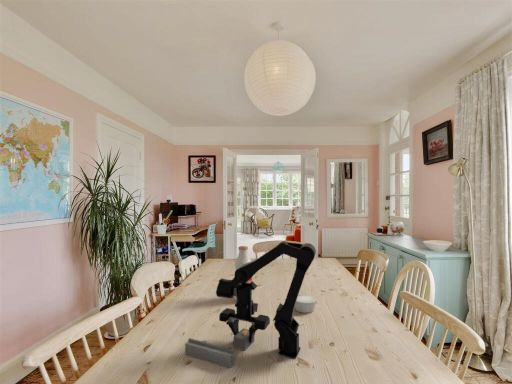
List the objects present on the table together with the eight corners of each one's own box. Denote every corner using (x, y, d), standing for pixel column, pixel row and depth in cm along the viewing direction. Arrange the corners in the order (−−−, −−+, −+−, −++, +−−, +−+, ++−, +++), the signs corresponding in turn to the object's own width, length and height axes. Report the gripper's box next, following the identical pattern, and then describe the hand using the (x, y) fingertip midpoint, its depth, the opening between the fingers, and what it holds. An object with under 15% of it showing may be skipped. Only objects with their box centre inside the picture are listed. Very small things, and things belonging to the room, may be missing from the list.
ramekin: (302, 302, 137) (302, 292, 137) (320, 309, 129) (320, 298, 129) (288, 309, 129) (288, 298, 130) (307, 316, 122) (307, 305, 122)
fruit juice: (231, 298, 143) (231, 246, 143) (246, 294, 148) (246, 244, 148) (240, 304, 135) (239, 249, 135) (255, 300, 140) (255, 247, 141)
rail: (239, 356, 91) (239, 343, 91) (230, 368, 85) (230, 354, 85) (196, 345, 98) (196, 332, 98) (185, 355, 92) (185, 341, 93)
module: (254, 341, 101) (254, 329, 101) (245, 351, 95) (245, 338, 95) (243, 338, 103) (243, 326, 103) (233, 347, 97) (233, 335, 97)
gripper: (274, 295, 103) (274, 335, 103) (232, 289, 110) (232, 326, 110) (264, 306, 93) (264, 351, 93) (218, 298, 100) (218, 340, 100)
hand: (244, 341), depth 99 cm, fingers open, 5 cm apart
